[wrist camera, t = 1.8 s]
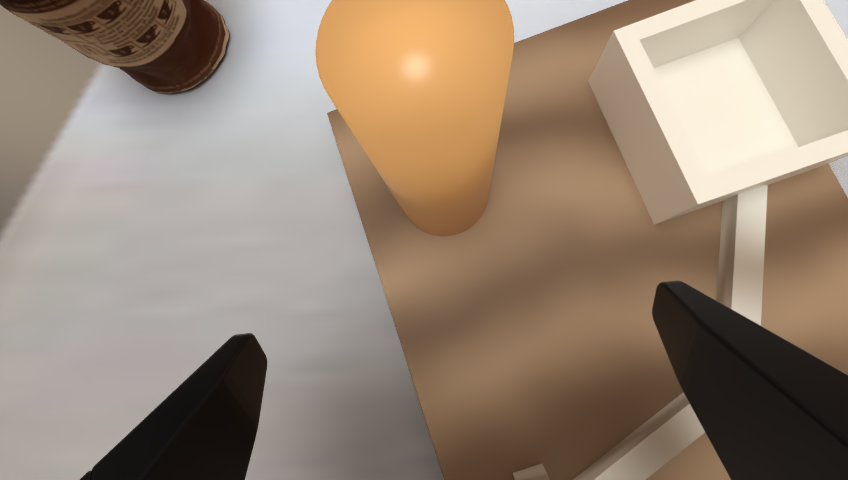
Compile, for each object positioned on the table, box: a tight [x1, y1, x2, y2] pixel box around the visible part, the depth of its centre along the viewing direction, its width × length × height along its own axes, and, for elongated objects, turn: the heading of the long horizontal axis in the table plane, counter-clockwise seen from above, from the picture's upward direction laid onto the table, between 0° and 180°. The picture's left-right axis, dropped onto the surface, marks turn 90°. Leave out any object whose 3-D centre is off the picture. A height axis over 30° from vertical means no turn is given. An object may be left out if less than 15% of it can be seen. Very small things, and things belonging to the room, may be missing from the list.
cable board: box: [327, 0, 848, 480], centre depth 20 cm, size 26×22×4 cm
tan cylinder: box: [316, 0, 514, 236], centre depth 16 cm, size 4×4×12 cm
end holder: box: [588, 0, 848, 225], centre depth 19 cm, size 8×8×4 cm
